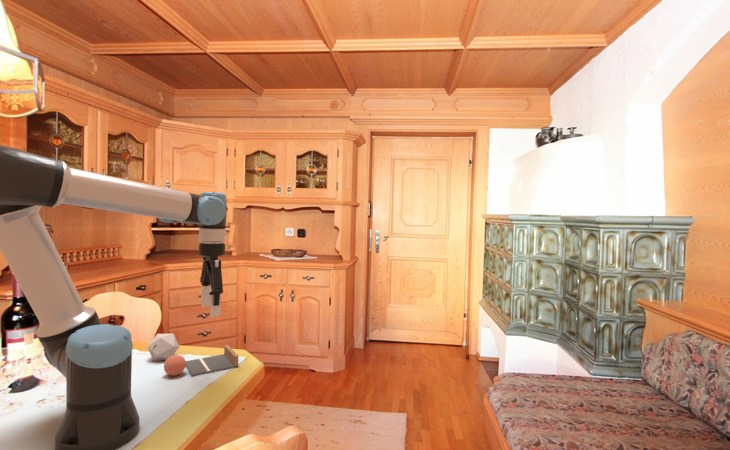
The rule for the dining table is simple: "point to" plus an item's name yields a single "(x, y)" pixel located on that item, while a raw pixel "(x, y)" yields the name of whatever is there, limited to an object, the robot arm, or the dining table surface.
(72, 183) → the robot arm
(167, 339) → the die
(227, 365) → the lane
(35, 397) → the dining table surface
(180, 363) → the ball
